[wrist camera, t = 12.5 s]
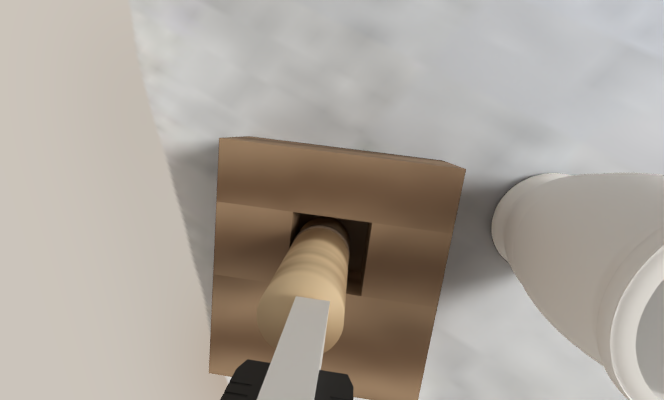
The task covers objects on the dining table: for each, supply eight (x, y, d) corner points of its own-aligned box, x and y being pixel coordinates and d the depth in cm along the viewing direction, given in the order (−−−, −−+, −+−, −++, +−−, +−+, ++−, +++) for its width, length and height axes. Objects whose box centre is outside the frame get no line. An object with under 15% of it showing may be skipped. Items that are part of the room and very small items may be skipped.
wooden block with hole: (249, 136, 27) (219, 138, 22) (442, 160, 27) (465, 169, 21) (236, 327, 31) (208, 372, 25) (405, 353, 30) (416, 407, 25)
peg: (303, 208, 26) (258, 270, 15) (354, 215, 26) (350, 284, 14) (298, 255, 27) (252, 351, 15) (347, 263, 27) (338, 365, 15)
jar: (597, 139, 25) (921, 152, 11) (625, 258, 27) (938, 410, 12) (461, 186, 27) (583, 253, 12) (495, 296, 29) (639, 470, 14)
